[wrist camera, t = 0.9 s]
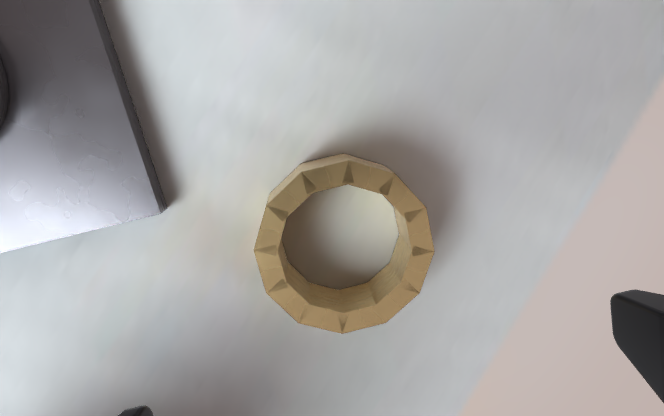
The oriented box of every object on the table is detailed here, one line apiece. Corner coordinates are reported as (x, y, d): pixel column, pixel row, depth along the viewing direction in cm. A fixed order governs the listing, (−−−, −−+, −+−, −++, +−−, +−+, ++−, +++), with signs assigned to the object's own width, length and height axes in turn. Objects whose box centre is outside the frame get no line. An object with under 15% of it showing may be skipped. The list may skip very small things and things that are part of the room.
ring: (429, 285, 22) (445, 307, 19) (284, 321, 21) (282, 348, 19) (400, 139, 20) (413, 144, 18) (243, 177, 20) (235, 187, 17)
